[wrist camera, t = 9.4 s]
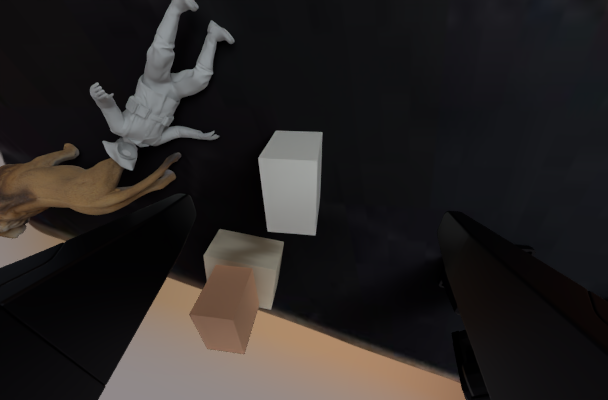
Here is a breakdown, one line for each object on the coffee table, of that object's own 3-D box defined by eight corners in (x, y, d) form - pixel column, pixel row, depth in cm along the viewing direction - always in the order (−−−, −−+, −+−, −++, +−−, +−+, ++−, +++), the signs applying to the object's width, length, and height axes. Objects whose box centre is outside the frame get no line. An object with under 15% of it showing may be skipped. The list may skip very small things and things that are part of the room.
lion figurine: (76, 195, 25) (-32, 261, 18) (34, 147, 22) (-115, 204, 15) (197, 176, 22) (126, 248, 15) (166, 118, 19) (58, 172, 12)
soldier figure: (268, 68, 17) (188, 198, 20) (235, 45, 19) (167, 165, 22) (154, -39, 10) (59, 180, 13) (123, -55, 13) (47, 136, 15)
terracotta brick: (252, 268, 23) (232, 319, 19) (259, 303, 26) (244, 354, 22) (216, 264, 23) (189, 314, 19) (227, 300, 26) (207, 349, 22)
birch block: (284, 240, 26) (276, 270, 22) (278, 279, 30) (270, 309, 26) (220, 227, 26) (203, 255, 22) (223, 268, 30) (209, 297, 26)
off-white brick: (322, 131, 18) (317, 160, 14) (320, 197, 22) (315, 235, 18) (276, 130, 18) (258, 158, 14) (280, 194, 22) (267, 231, 18)
